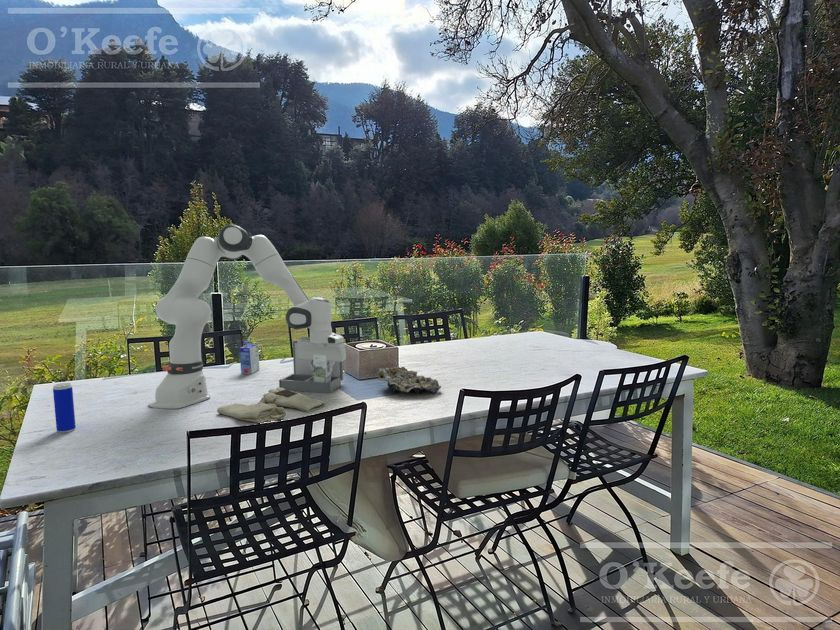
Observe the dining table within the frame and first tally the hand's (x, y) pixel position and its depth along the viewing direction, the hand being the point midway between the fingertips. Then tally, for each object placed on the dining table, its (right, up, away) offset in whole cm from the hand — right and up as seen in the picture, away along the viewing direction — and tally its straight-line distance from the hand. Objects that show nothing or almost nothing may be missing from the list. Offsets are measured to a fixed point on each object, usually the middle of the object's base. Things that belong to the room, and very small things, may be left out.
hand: (321, 371), depth 230 cm
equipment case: (-5, -7, +4) cm, 9 cm away
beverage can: (-73, -14, -49) cm, 89 cm away
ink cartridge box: (-39, -4, +32) cm, 50 cm away
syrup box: (0, -7, +2) cm, 7 cm away
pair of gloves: (-13, -12, -28) cm, 33 cm away
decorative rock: (+35, -8, -1) cm, 35 cm away
